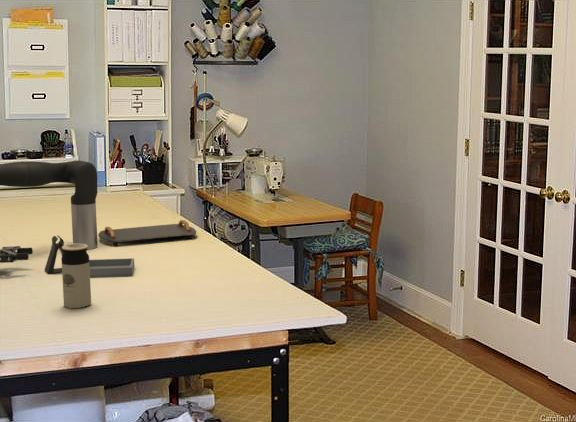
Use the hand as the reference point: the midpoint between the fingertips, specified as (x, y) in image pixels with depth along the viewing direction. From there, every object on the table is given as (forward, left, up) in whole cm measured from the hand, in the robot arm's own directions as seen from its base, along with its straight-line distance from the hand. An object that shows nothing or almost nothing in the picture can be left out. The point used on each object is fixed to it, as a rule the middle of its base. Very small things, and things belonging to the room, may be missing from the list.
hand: (30, 253), depth 315 cm
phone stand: (0, +9, -7) cm, 12 cm away
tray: (+4, +26, -6) cm, 27 cm away
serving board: (-52, +37, -7) cm, 64 cm away
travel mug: (+44, +20, -7) cm, 49 cm away
